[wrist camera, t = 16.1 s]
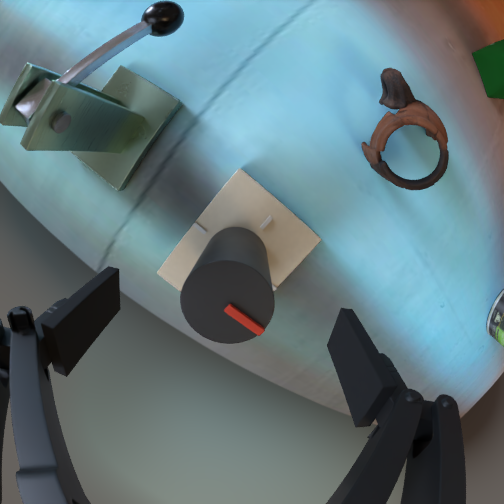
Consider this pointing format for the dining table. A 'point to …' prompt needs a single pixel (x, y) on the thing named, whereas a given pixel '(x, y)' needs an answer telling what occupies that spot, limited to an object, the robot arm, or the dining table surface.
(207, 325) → the tap knob
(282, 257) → the panel
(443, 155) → the broken clay pot
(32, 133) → the grey metal lever stand
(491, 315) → the coffee can
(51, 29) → the dining table surface
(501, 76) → the milk carton
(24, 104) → the tap lever
